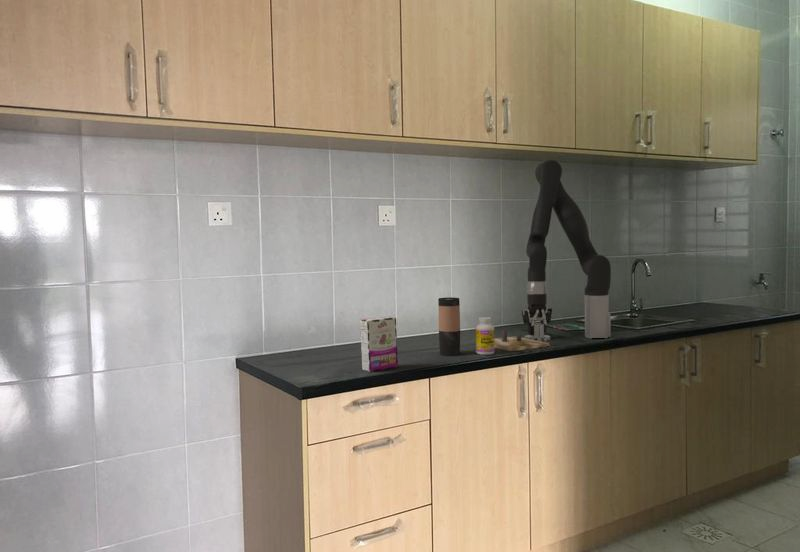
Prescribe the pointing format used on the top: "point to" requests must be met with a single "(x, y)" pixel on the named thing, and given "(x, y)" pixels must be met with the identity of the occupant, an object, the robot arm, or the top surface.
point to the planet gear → (538, 333)
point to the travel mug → (449, 326)
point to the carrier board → (514, 348)
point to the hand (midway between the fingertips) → (537, 334)
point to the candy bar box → (379, 343)
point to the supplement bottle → (484, 336)
